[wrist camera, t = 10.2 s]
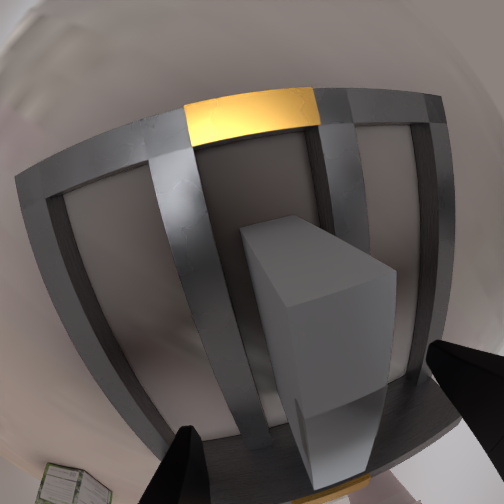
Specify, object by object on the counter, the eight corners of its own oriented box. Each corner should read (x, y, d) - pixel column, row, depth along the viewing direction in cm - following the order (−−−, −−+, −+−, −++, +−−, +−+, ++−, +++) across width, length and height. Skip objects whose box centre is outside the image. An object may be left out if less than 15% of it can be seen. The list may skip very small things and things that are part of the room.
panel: (294, 214, 12) (398, 270, 5) (316, 379, 15) (366, 470, 8) (237, 227, 11) (283, 308, 5) (277, 392, 14) (313, 490, 8)
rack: (422, 99, 11) (515, 86, 5) (417, 379, 17) (460, 428, 11) (32, 174, 9) (-69, 190, 3) (171, 455, 15) (171, 526, 9)
